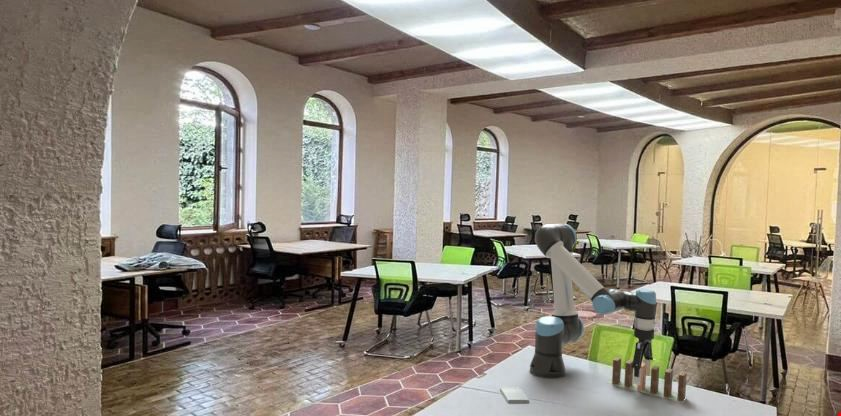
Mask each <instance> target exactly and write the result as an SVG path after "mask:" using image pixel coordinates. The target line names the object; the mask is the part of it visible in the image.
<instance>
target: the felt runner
mask: <svg viewBox="0 0 841 416" xmlns="http://www.w3.org/2000/svg"><path fill="white" fill-rule="evenodd" d="M624 383H625V380H623V379H620V382H619V383H618V384H617V385H616V384H612V379H610V380H609V381H608V382H607V384H608V385H613V386H617V387H620V388H624V389H628V390H631V391H635V392H640V393H643V394H648V395H651V396H655V397H659V398H662V399H667V400H671V401H675V402H679V403H683V404H684V403H685V402H686V400H683V401H678V400H677V397H678V393H675V392H672V394H671V395H670V397H669V398H667V397H664V389H659V388H658V392H657V393H656V394H651V393H650V386H647V385H645V388H644V389H643V390H642V391H639V390H637V385H636V384H632V385H631V386H630V387H629V388H627V387H624ZM685 397H687V395H685ZM687 398H688V397H687ZM684 401H685V402H684Z"/></svg>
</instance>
